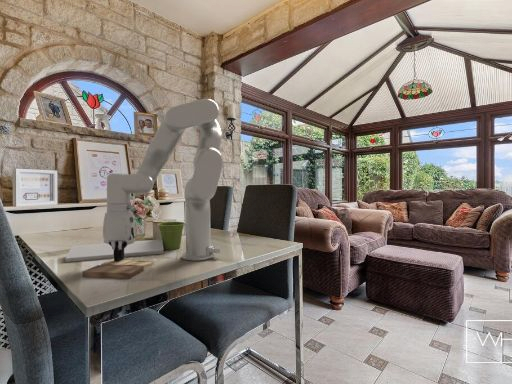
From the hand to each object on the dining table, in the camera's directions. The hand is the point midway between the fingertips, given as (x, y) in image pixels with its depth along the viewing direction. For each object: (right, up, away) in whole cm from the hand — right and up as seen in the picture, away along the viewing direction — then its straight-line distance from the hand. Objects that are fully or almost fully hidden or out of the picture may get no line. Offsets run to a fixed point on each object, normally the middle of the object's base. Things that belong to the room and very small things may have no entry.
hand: (118, 260), depth 96 cm
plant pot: (+11, -1, +26) cm, 28 cm away
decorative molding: (-7, -2, +15) cm, 16 cm away
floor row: (+3, -2, -10) cm, 11 cm away
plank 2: (+8, -2, -2) cm, 9 cm away
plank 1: (0, -2, -1) cm, 2 cm away
